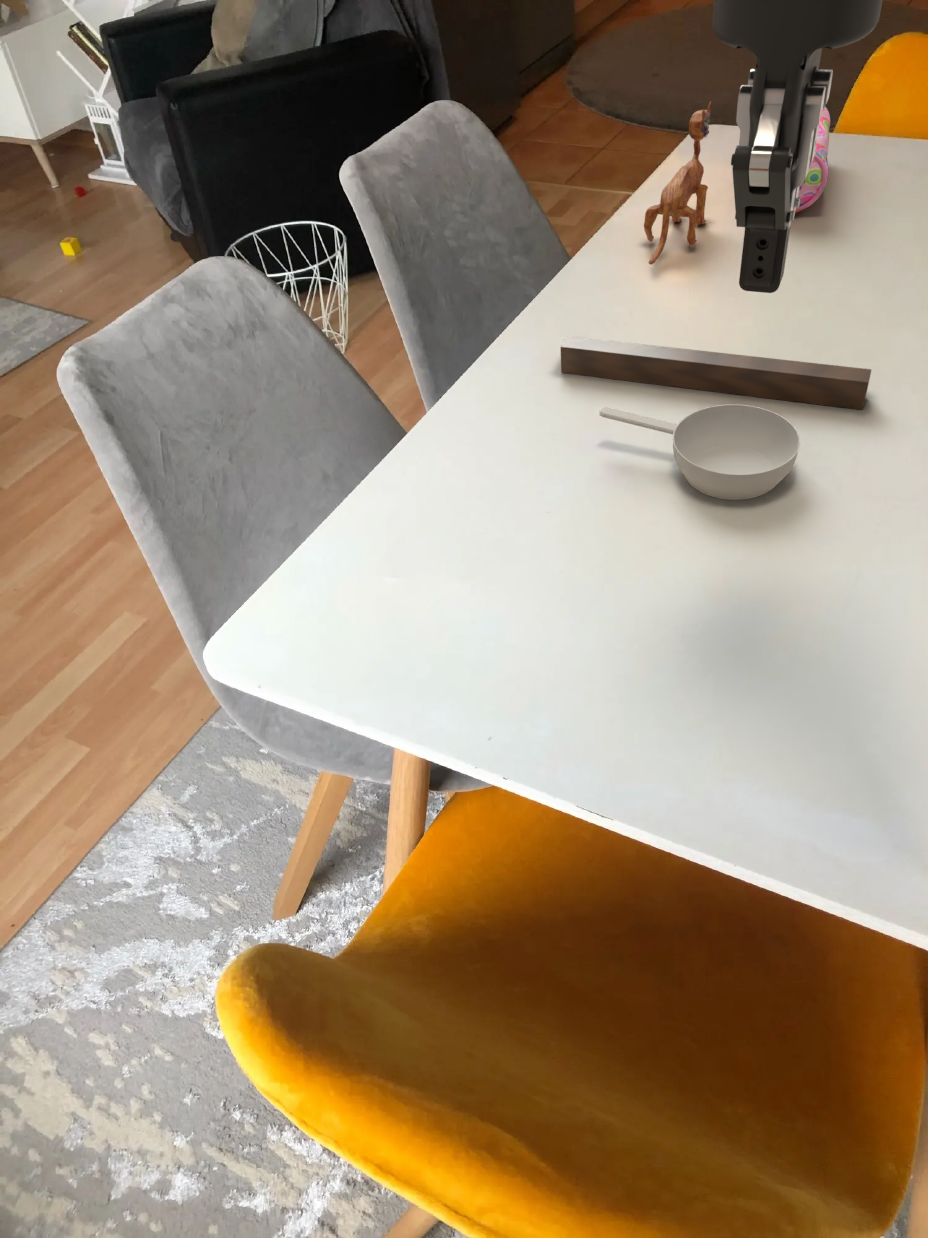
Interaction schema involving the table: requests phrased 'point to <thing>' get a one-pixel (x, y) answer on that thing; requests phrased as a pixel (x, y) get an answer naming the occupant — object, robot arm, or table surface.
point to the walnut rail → (717, 372)
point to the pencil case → (817, 166)
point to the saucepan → (727, 448)
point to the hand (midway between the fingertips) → (760, 285)
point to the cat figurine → (682, 190)
